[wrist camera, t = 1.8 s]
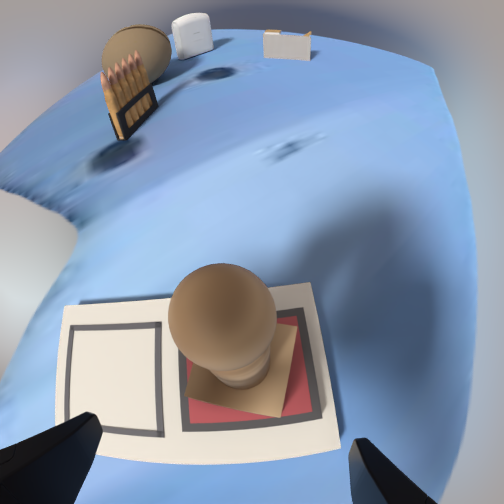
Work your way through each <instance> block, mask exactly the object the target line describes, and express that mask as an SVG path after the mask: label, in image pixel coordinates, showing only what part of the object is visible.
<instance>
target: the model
mask: <svg viewBox="0 0 504 504" xmlns="http://www.w3.org/2000/svg"><path fill="white" fill-rule="evenodd" d="M280 33H281V30H266V31H265V33H264V34H263V46H264V58H279V59H294V60H305V61H310V50H311V37H309V35H311V31H310V32H309V33H307V34H305V35H304V36H295V35H280Z"/></svg>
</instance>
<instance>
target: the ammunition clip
mask: <svg viewBox="0 0 504 504" xmlns="http://www.w3.org/2000/svg"><path fill="white" fill-rule="evenodd" d="M128 63H129V65H128ZM128 63H127V61H126V60H125V59H124V58H122V69H121V67H120V65H119V64H118V63H117V62H116V63H115V73H116V75H115V73H114V71H113V70H112V69H111V68H110V67H109V68H108V77H109V80H108V78H107V77H106V75H105V74H104V73H103V72H101V84H102V88H103V92H104V95H105V101H106V104H107V106H108V109H109V112H110V113H109V114H108V115H109V118H110V121H111V124H112V126H113V129H114V132H115V135H116V138H117V140H128V138H129V137H130V136H131V135H132V134H133V133H134V132H135V131H136V130H137V128H138V127H139V126H140V125H141V124H142V123H143V122H144V121H145V120H146V119H147V118H148V117H149V116H150V115H151V114H152V113H153V112H154V111H155V110H156V109H157V108H158V103H157V100H156V97H155V93H154V90H153V87H152V83H149V79H148V75H147V72H146V69H145V68H144V64H143V62H142V58H141V56H140V54H139V52H138V51H137V50H135V60H134V58H133V56H132V55H131V54H129V56H128ZM122 70H123V71H122ZM109 82H110V83H109Z"/></svg>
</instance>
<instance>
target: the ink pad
mask: <svg viewBox="0 0 504 504" xmlns="http://www.w3.org/2000/svg"><path fill="white" fill-rule="evenodd" d="M276 313H277V323H278V324H285V325H291V326H297V332H296V339H295V344H294V350H293V356H292V362H291V367H290V373H289V378H288V383H287V388H286V393H285V398H284V403H283V408H282V413H281V417H280V418H277V417H271V416H265V415H259V414H254V413H249V412H244V411H239V410H235V409H230V408H226V407H221V406H217V405H213V404H209V403H205V402H202V401H198V400H194V399H191V398H189V397H186V396H184V394H185V390H186V387H187V383H188V380H189V376H190V372H191V369H192V365H193V362H192V361H190V360H189V359H188V358H187V357H186V356H184V355H183V353H182V352H181V351H180V350H179V349H178V366H179V390H180V408H181V423H182V432H210V431H231V430H245V429H256V428H265V427H273V426H281V425H288V424H295V423H301V422H307V421H312V420H317V419H322V418H323V417H322V411H321V404H320V398H319V392H318V386H317V380H316V374H315V368H314V362H313V356H312V351H311V345H310V340H309V334H308V329H307V324H306V318H305V313H304V308H303V307H300V308H293V309H286V310H279V311H276Z"/></svg>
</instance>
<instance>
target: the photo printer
mask: <svg viewBox="0 0 504 504" xmlns="http://www.w3.org/2000/svg"><path fill="white" fill-rule="evenodd" d="M172 31H173V36H174V41H175V46H176V51H177V56H178V58H179V59H180V60H184V59H187V58H190V57H193V56H196V55H199V54H202V53H204V52H207V51H210V50H213V40H212V33H211V26H210V19H209V17H208V15H207V14H205V13H192V14H188V15H184V16H182V17H180V18H178V19H176V20H175V21H173V22H172Z"/></svg>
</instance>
